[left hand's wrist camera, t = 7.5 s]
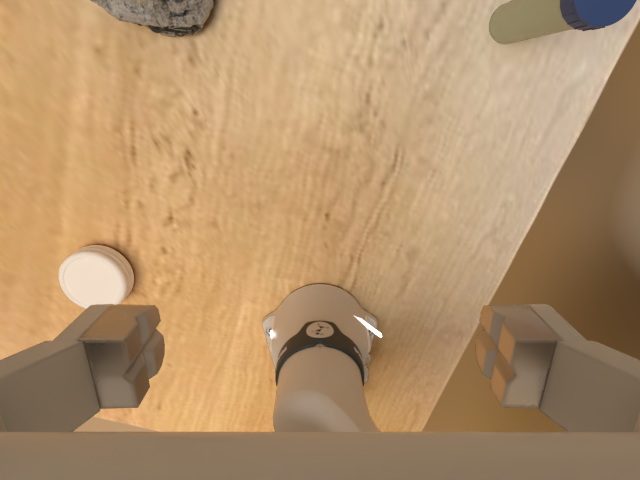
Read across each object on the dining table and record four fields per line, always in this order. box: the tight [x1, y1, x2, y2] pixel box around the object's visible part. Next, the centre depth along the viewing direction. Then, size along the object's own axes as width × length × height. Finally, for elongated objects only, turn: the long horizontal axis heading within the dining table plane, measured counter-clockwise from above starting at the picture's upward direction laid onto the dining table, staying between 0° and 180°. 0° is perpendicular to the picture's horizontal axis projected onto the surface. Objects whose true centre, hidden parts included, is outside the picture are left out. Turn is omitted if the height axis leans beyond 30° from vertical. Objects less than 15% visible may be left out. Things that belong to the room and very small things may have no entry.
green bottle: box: [489, 0, 574, 44], centre depth 42 cm, size 5×5×18 cm
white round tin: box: [59, 245, 134, 309], centre depth 61 cm, size 10×10×4 cm
